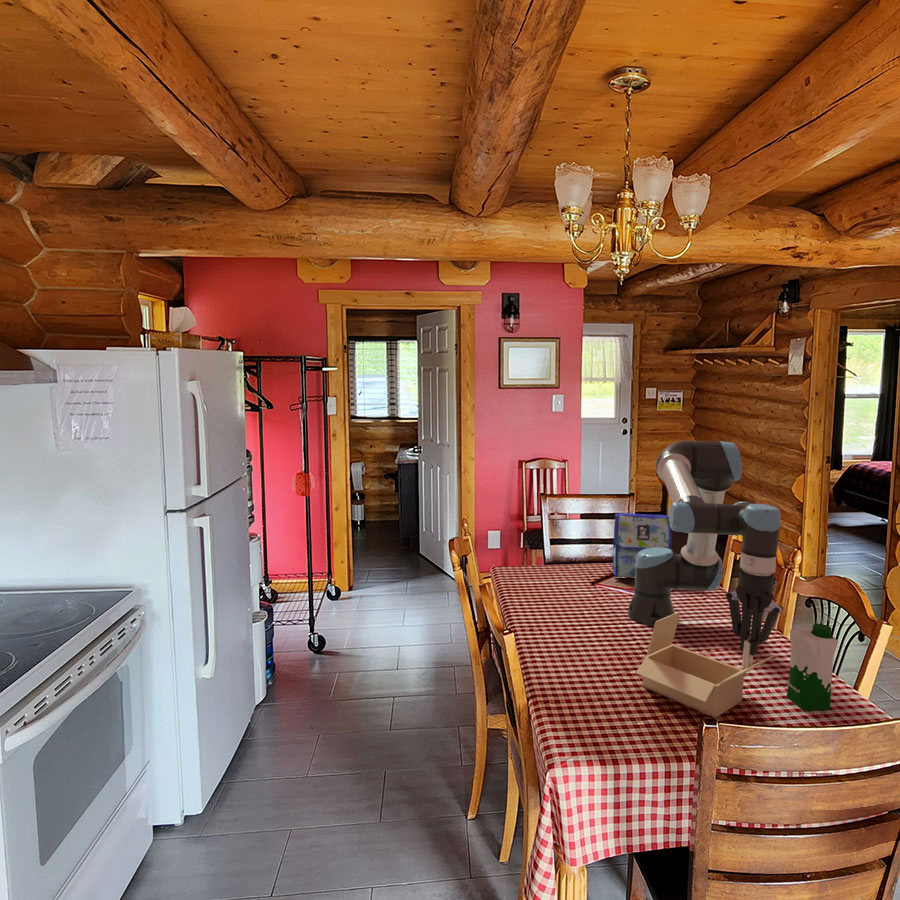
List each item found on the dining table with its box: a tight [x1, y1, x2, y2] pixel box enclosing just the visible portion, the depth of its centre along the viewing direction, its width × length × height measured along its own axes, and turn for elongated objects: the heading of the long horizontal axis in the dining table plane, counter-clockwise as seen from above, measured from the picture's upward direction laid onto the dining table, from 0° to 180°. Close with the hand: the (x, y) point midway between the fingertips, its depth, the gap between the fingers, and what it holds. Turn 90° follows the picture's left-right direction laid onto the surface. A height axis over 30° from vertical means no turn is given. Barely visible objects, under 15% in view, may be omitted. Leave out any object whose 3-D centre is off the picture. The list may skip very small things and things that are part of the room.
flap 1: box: [646, 611, 681, 656], centre depth 172 cm, size 1×11×10 cm, turn 128°
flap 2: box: [719, 654, 776, 684], centre depth 155 cm, size 1×11×10 cm
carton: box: [635, 644, 750, 719], centre depth 167 cm, size 20×22×8 cm
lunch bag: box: [612, 512, 673, 578], centre depth 263 cm, size 22×17×26 cm
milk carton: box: [786, 623, 839, 712], centre depth 162 cm, size 9×9×20 cm
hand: (747, 666), depth 155 cm, fingers closed
